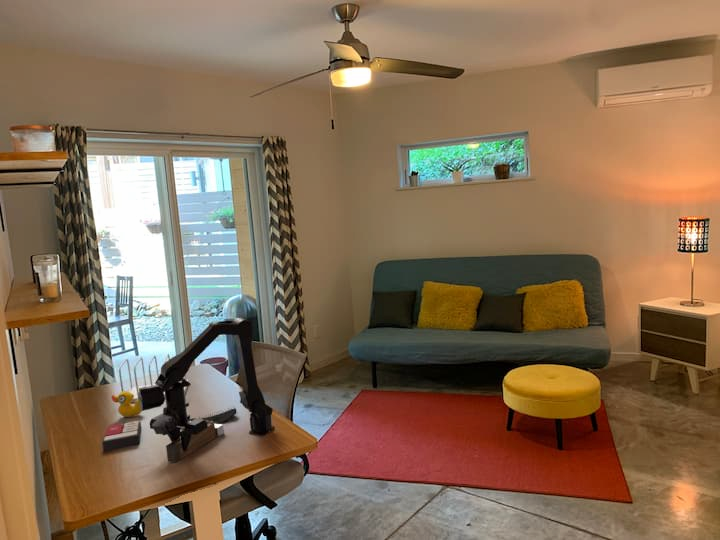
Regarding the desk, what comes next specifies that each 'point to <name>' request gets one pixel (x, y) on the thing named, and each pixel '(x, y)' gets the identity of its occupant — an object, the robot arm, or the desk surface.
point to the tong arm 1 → (172, 444)
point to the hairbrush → (219, 417)
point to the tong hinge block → (219, 429)
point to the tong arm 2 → (193, 443)
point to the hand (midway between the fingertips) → (181, 450)
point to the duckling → (127, 404)
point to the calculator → (122, 436)
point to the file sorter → (136, 389)
